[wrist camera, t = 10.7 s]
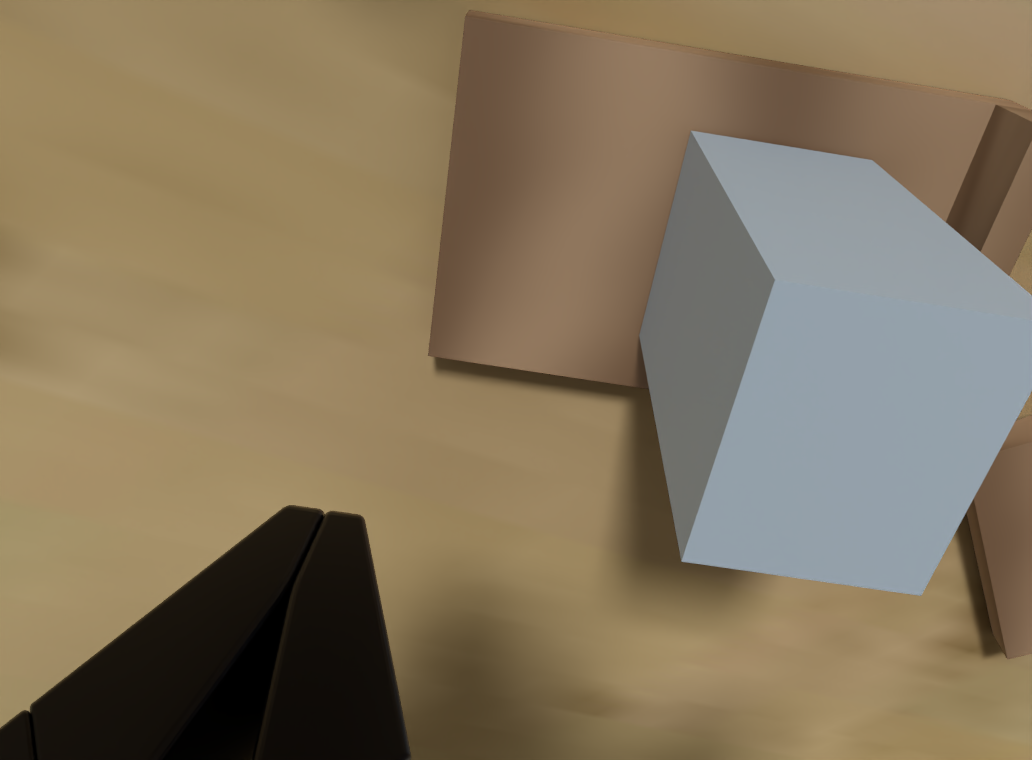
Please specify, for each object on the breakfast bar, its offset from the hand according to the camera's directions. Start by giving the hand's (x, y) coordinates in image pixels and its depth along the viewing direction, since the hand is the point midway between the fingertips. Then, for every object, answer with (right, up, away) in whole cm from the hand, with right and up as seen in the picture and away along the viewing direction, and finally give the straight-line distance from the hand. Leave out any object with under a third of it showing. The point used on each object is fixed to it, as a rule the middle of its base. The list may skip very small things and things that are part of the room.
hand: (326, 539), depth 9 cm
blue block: (+7, +5, +10) cm, 13 cm away
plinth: (+6, +5, +11) cm, 14 cm away
